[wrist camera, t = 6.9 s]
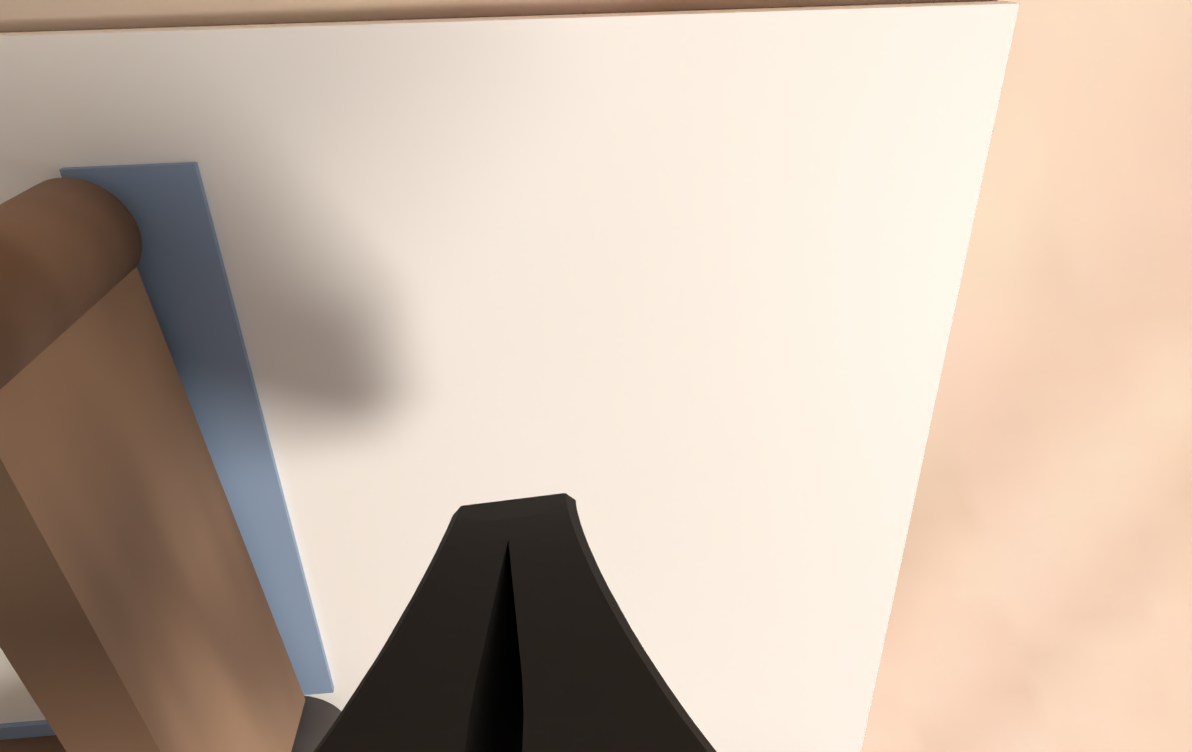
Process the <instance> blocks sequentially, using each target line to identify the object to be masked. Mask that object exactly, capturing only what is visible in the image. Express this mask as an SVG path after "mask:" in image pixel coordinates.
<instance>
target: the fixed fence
mask: <svg viewBox="0 0 1192 752" xmlns="http://www.w3.org/2000/svg"><path fill="white" fill-rule="evenodd" d="M304 697H305V703H304V707H303V711H302V714H301V718H300V722H299V725H298V729H297V733H296V736H295V740H294V744H293V747H292V751H291V752H314V750H315V749H316V747H317V746H318V745H319V743H320V742H321V740H322V739H323V738H324V736H325V735H326V733H327V732H328V731H329V729H330V728H331V726H332V725H333V723H334V722H335V720H336V719H337V718H338V716H339V715H340V713H341V710H339V709H338V708H337V707H336V706H334V705H332V704H331V703H329V702H327V701H324V700H322V699H318V698H315V697H310V696H304ZM0 752H66V750H65V749H64V747H63V745H62V744H61V742H60V741H59V739H58V738H57V736H56V735H52V736H40V737H28V738H17V739H5V740H0Z"/></svg>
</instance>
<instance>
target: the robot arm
mask: <svg viewBox="0 0 1192 752" xmlns="http://www.w3.org/2000/svg"><path fill="white" fill-rule="evenodd" d="M314 752H716V750H715V749H714V748H713V746H712V745H711V744H710V743H709V741H708V740H707V739H706V737H705V736H704V735H703V733H702V732H701V731H700V729H699V728H698V727H697V726H696V724H695V723H694V722H693V720H692V719H691V717H690V716H689V715H688V713H687V712H686V710H685V709H684V708H683V706H682V705H681V704H680V702H679V701H678V699H677V698H676V696H675V695H674V693H673V692H672V691H671V689H670V688H669V686H668V685H667V683H666V682H665V680H664V679H663V677H662V676H661V674H660V673H659V671H658V670H657V668H656V667H655V665H654V664H653V662H652V661H651V659H650V657H649V656H648V654H647V653H646V651H645V650H644V648H643V647H642V645H641V643H640V642H639V640H638V638H637V637H636V635H635V633H634V632H633V630H632V628H631V627H630V625H629V623H628V621H627V620H626V618H625V616H624V614H623V612H622V611H621V609H620V607H619V605H618V603H617V602H616V600H615V598H614V596H613V595H612V593H611V591H610V589H609V587H608V585H607V583H606V581H605V579H604V577H603V575H602V573H601V571H600V569H599V567H598V565H597V563H596V561H595V558H594V556H593V554H592V552H591V549H590V547H589V545H588V542H587V540H586V537H585V534H584V532H583V529H582V526H581V523H580V519H579V516H578V512H577V507H576V500H575V499H573V498H572V497H570V496H569V495H568V494H566V493H560V494H552V495H544V496H536V497H528V498H520V499H512V500H504V501H496V502H488V503H479V504H471V505H463V506H460V508H459V509H458V510H457V511H456V512H455V513H454V514H453V516H452V518H451V521H450V523H449V525H448V527H447V530H446V532H445V534H444V536H443V538H442V540H441V542H440V544H439V546H438V549H437V551H436V553H435V555H434V557H433V559H432V561H431V562H430V564H429V566H428V568H427V570H426V572H425V574H424V576H423V578H422V580H421V582H420V583H419V585H418V587H417V589H416V591H415V593H414V595H413V596H412V598H411V600H410V602H409V603H408V605H407V607H406V608H405V610H404V612H403V614H402V615H401V617H400V619H399V621H398V622H397V624H396V626H395V628H394V629H393V631H392V633H391V634H390V636H389V638H388V640H387V641H386V643H385V645H384V646H383V648H382V650H381V651H380V653H379V655H378V656H377V658H376V659H375V661H374V663H373V664H372V666H371V667H370V669H369V670H368V672H367V673H366V675H365V676H364V678H363V679H362V681H361V682H360V684H359V685H358V687H357V689H356V690H355V692H354V693H353V695H352V696H351V698H350V699H349V701H348V702H347V704H346V705H345V707H344V708H343V710H342V711H341V713H340V715H339V716H338V718H337V719H336V720H335V722H334V723H333V725H332V726H331V728H330V729H329V731H328V732H327V733H326V735H325V736H324V738H323V739H322V740H321V742H320V743H319V745H318V746H317V747H316V749H315V750H314Z"/></svg>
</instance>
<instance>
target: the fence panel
mask: <svg viewBox="0 0 1192 752" xmlns="http://www.w3.org/2000/svg"><path fill="white" fill-rule="evenodd" d="M141 253H142V239H141V234H140V231H139V228H138V225H137V223H136V221H135V219H134V218H133V216H132V214H131V213H130V212H129V210H128V209H127V208H126V206H125V205H124V204H123V203H122V202H121V201H120V200H119V199H117V198H116V197H115V196H114V195H113V194H111V193H110V192H108V191H107V190H105V189H103V188H101V187H100V186H98V185H95V184H93V183H91V182H88V181H84V180H81V179H76V178H66V177H65V178H54V179H49V180H46V181H43V182H41V183H39V184H37V185H35V186H33V187H31V188H30V189H28V190H26V191H24V192H22V193H20V194H18V195H17V196H15V197H13V198H11V199H9V200H7V201H6V202H4V203H2V204H0V648H1V649H2V651H3V652H4V654H5V656H6V657H7V659H8V660H9V662H10V664H11V665H12V667H13V668H14V670H15V671H16V673H17V675H18V676H19V678H20V679H21V681H22V682H23V684H24V686H25V687H26V689H27V690H28V692H29V693H30V695H31V697H32V698H33V700H34V701H35V703H36V704H37V706H38V708H39V709H40V711H41V712H42V714H43V716H44V717H45V719H46V720H47V722H48V723H49V725H50V727H51V728H52V730H53V731H54V733H55V734H56V736H57V738H58V739H59V741H60V742H61V744H62V745H63V747H64V749H65V750H66V752H291V751H292V747H293V744H294V740H295V736H296V733H297V729H298V725H299V722H300V718H301V714H302V711H303V707H304V703H305V697H304V694H303V692H302V689H301V687H300V684H299V682H298V679H297V677H296V674H295V671H294V669H293V666H292V664H291V661H290V659H289V656H288V653H287V651H286V648H285V646H284V643H283V641H282V638H281V636H280V633H279V630H278V628H277V625H276V623H275V620H274V618H273V615H272V612H271V610H270V607H269V605H268V602H267V600H266V597H265V595H264V592H263V589H262V587H261V584H260V582H259V579H258V577H257V574H256V571H255V569H254V566H253V564H252V561H251V559H250V556H249V553H248V551H247V548H246V546H245V543H244V541H243V538H242V536H241V533H240V530H239V528H238V525H237V523H236V520H235V518H234V515H233V512H232V510H231V507H230V505H229V502H228V500H227V497H226V495H225V492H224V489H223V487H222V484H221V482H220V479H219V477H218V474H217V471H216V469H215V466H214V464H213V461H212V459H211V456H210V454H209V451H208V448H207V446H206V443H205V441H204V438H203V436H202V433H201V430H200V428H199V425H198V423H197V420H196V418H195V415H194V412H193V410H192V407H191V405H190V402H189V400H188V397H187V395H186V392H185V389H184V387H183V384H182V382H181V379H180V377H179V374H178V371H177V369H176V366H175V364H174V361H173V359H172V356H171V354H170V351H169V348H168V346H167V343H166V341H165V338H164V336H163V333H162V330H161V328H160V325H159V323H158V320H157V318H156V315H155V313H154V310H153V307H152V305H151V302H150V300H149V297H148V295H147V292H146V289H145V287H144V284H143V282H142V279H141V277H140V274H139V271H138V269H137V265H138V263H139V261H140V258H141Z"/></svg>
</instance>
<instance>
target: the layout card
mask: <svg viewBox="0 0 1192 752" xmlns="http://www.w3.org/2000/svg"><path fill="white" fill-rule="evenodd" d="M1019 4H1020V3H1014V2H1008V1H977V2H946V3H914V4H883V5H852V6H821V7H790V8H758V9H727V10H696V11H665V12H634V13H602V14H571V15H540V16H509V17H478V18H446V19H415V20H384V21H353V22H322V23H290V24H259V25H228V26H197V27H165V28H134V29H103V30H72V31H41V32H9V33H0V204H2V203H4V202H6V201H7V200H9V199H11V198H13V197H15V196H17V195H18V194H20V193H22V192H24V191H26V190H28V189H30V188H31V187H33V186H35V185H37V184H39V183H41V182H43V181H46V180H49V179H54V178H65V177H66V178H76V179H81V180H84V181H88V182H91V183H93V184H95V185H98V186H100V187H101V188H103V189H105V190H107V191H108V192H110V193H111V194H113V195H114V196H115V197H116V198H117V199H119V200H120V201H121V202H122V203H123V204H124V205H125V206H126V208H127V209H128V210H129V212H130V213H131V214H132V216H133V218H134V219H135V221H136V223H137V225H138V228H139V231H140V234H141V239H142V253H141V258H140V261H139V263H138V265H137V269H138V271H139V274H140V277H141V279H142V282H143V284H144V287H145V289H146V292H147V295H148V297H149V300H150V302H151V305H152V307H153V310H154V313H155V315H156V318H157V320H158V323H159V325H160V328H161V330H162V333H163V336H164V338H165V341H166V343H167V346H168V348H169V351H170V354H171V356H172V359H173V361H174V364H175V366H176V369H177V371H178V374H179V377H180V379H181V382H182V384H183V387H184V389H185V392H186V395H187V397H188V400H189V402H190V405H191V407H192V410H193V412H194V415H195V418H196V420H197V423H198V425H199V428H200V430H201V433H202V436H203V438H204V441H205V443H206V446H207V448H208V451H209V454H210V456H211V459H212V461H213V464H214V466H215V469H216V471H217V474H218V477H219V479H220V482H221V484H222V487H223V489H224V492H225V495H226V497H227V500H228V502H229V505H230V507H231V510H232V512H233V515H234V518H235V520H236V523H237V525H238V528H239V530H240V533H241V536H242V538H243V541H244V543H245V546H246V548H247V551H248V553H249V556H250V559H251V561H252V564H253V566H254V569H255V571H256V574H257V577H258V579H259V582H260V584H261V587H262V589H263V592H264V595H265V597H266V600H267V602H268V605H269V607H270V610H271V612H272V615H273V618H274V620H275V623H276V625H277V628H278V630H279V633H280V636H281V638H282V641H283V643H284V646H285V648H286V651H287V653H288V656H289V659H290V661H291V664H292V666H293V669H294V671H295V674H296V677H297V679H298V682H299V684H300V687H301V689H302V692H303V694H304V696H310V697H315V698H318V699H322V700H324V701H327V702H329V703H331V704H332V705H334V706H336V707H337V708H338V709H339V710H341V711H342V710H343V708H344V707H345V705H346V704H347V702H348V701H349V699H350V698H351V696H352V695H353V693H354V692H355V690H356V689H357V687H358V685H359V684H360V682H361V681H362V679H363V678H364V676H365V675H366V673H367V672H368V670H369V669H370V667H371V666H372V664H373V663H374V661H375V659H376V658H377V656H378V655H379V653H380V651H381V650H382V648H383V646H384V645H385V643H386V641H387V640H388V638H389V636H390V634H391V633H392V631H393V629H394V628H395V626H396V624H397V622H398V621H399V619H400V617H401V615H402V614H403V612H404V610H405V608H406V607H407V605H408V603H409V602H410V600H411V598H412V596H413V595H414V593H415V591H416V589H417V587H418V585H419V583H420V582H421V580H422V578H423V576H424V574H425V572H426V570H427V568H428V566H429V564H430V562H431V561H432V559H433V557H434V555H435V553H436V551H437V549H438V546H439V544H440V542H441V540H442V538H443V536H444V534H445V532H446V530H447V527H448V525H449V523H450V521H451V518H452V516H453V514H454V513H455V512H456V511H457V510H458V509H459V508H460V506H463V505H471V504H479V503H488V502H496V501H504V500H512V499H520V498H528V497H536V496H544V495H552V494H560V493H566V494H568V495H569V496H570V497H572V498H573V499H575V500H576V507H577V512H578V516H579V519H580V523H581V526H582V529H583V532H584V534H585V537H586V540H587V542H588V545H589V547H590V549H591V552H592V554H593V556H594V558H595V561H596V563H597V565H598V567H599V569H600V571H601V573H602V575H603V577H604V579H605V581H606V583H607V585H608V587H609V589H610V591H611V593H612V595H613V596H614V598H615V600H616V602H617V603H618V605H619V607H620V609H621V611H622V612H623V614H624V616H625V618H626V620H627V621H628V623H629V625H630V627H631V628H632V630H633V632H634V633H635V635H636V637H637V638H638V640H639V642H640V643H641V645H642V647H643V648H644V650H645V651H646V653H647V654H648V656H649V657H650V659H651V661H652V662H653V664H654V665H655V667H656V668H657V670H658V671H659V673H660V674H661V676H662V677H663V679H664V680H665V682H666V683H667V685H668V686H669V688H670V689H671V691H672V692H673V693H674V695H675V696H676V698H677V699H678V701H679V702H680V704H681V705H682V706H683V708H684V709H685V710H686V712H687V713H688V715H689V716H690V717H691V719H692V720H693V722H694V723H695V724H696V726H697V727H698V728H699V729H700V731H701V732H702V733H703V735H704V736H705V737H706V739H707V740H708V741H709V743H710V744H711V745H712V746H713V748H714V749H715V750H716V752H861V749H862V744H863V740H864V735H865V730H866V726H867V721H868V716H869V711H870V707H871V702H872V697H873V693H874V688H875V683H876V678H877V674H878V669H879V664H880V660H881V655H882V650H883V645H884V641H885V636H886V631H887V626H888V622H889V617H890V612H891V608H892V603H893V598H894V593H895V589H896V584H897V579H898V575H899V570H900V565H901V560H902V556H903V551H904V546H905V542H906V537H907V532H908V527H909V523H910V518H911V513H912V509H913V504H914V499H915V494H916V490H917V485H918V480H919V475H920V471H921V466H922V461H923V457H924V452H925V447H926V442H927V438H928V433H929V428H930V424H931V419H932V414H933V409H934V405H935V400H936V395H937V391H938V386H939V381H940V376H941V372H942V367H943V362H944V358H945V353H946V348H947V343H948V339H949V334H950V329H951V325H952V320H953V315H954V310H955V306H956V301H957V296H958V291H959V287H960V282H961V277H962V273H963V268H964V263H965V258H966V254H967V249H968V244H969V240H970V235H971V230H972V225H973V221H974V216H975V211H976V207H977V202H978V197H979V192H980V188H981V183H982V178H983V174H984V169H985V164H986V159H987V155H988V150H989V145H990V140H991V136H992V131H993V126H994V122H995V117H996V112H997V107H998V103H999V98H1000V93H1001V89H1002V84H1003V79H1004V74H1005V70H1006V65H1007V60H1008V56H1009V51H1010V46H1011V41H1012V37H1013V32H1014V27H1015V23H1016V18H1017V13H1018V8H1019ZM52 735H56V734H55V733H54V731H53V730H52V728H51V727H50V725H49V723H48V722H47V720H46V719H45V717H44V716H43V714H42V712H41V711H40V709H39V708H38V706H37V704H36V703H35V701H34V700H33V698H32V697H31V695H30V693H29V692H28V690H27V689H26V687H25V686H24V684H23V682H22V681H21V679H20V678H19V676H18V675H17V673H16V671H15V670H14V668H13V667H12V665H11V664H10V662H9V660H8V659H7V657H6V656H5V654H4V652H3V651H2V649H1V648H0V740H5V739H17V738H28V737H40V736H52Z"/></svg>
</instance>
